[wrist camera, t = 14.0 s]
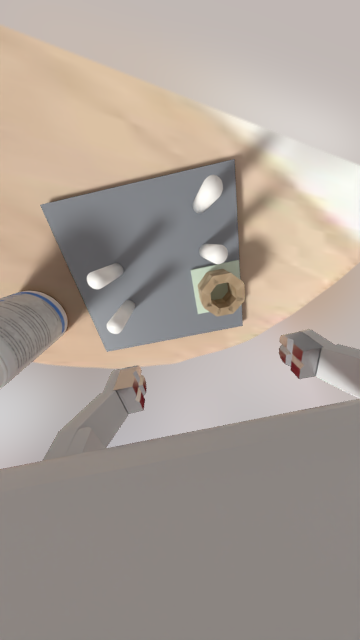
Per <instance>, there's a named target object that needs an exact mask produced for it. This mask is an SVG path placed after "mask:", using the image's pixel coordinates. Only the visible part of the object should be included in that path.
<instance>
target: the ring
mask: <svg viewBox="0 0 360 640" xmlns="http://www.w3.org/2000/svg"><path fill="white" fill-rule="evenodd" d="M227 282H228V292H227V293H226V294H225V296H224V297H223V298H222V299H217V300H213V299H211V294H210V293H211V292H212V291H213V289H214V288H215V287H216V285H217V284H222V283H227ZM198 291H199V298H200V301H201V303H202V305H203V307H204V308H205V309H206V310H208V311H209V312H211V313H212V314H214V315H215V316H217V317H218V316H223V315H228V314H233V313H234V312H235V311H236V310H237V309H238V308H239V306H240V305H241V304H242V303H243V302H244V301H245V286H244V282H242V281H241V280H240V279H238V278H237V277H236V276H234V275H233V274H232V273H230V272H228V271H226V270H224V269H219V270H214V271H209V272H207V273H206V274H205V275H204V277H203V278H202V280H201V281H200V282H199V284H198Z"/></svg>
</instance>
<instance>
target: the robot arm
mask: <svg viewBox="0 0 360 640" xmlns="http://www.w3.org/2000/svg"><path fill="white" fill-rule="evenodd" d="M280 343H281V344H282V345H281V346H280V348H279V355H280V358H281V359H282V361H283V362H284V363H285V364H286V365H288V366H291V371H292V372H293V373H294V374H295V375H296V376H297V377H298V378H299V379H302V378H308V377H314V376H316V377H317V378H319V379H321V380H323V381H325V382H327V383H329V384H331V385H333V386H335V387H337V388H339V389H341V390H343V391H345V392H347V393H349V394H351V395H353V396H355V397H357V398H359V399H356V400H351V401H345V402H340V403H335V404H330V405H325V406H320V407H315V408H309V409H305V410H299V411H295V412H289V413H284V414H279V415H274V416H269V417H264V418H259V419H254V420H249V421H243V422H239V423H233V424H228V425H223V426H218V427H213V428H208V429H202V430H197V431H192V432H187V433H182V434H178V435H172V436H167V437H162V438H157V439H151V440H147V441H141V442H137V443H132V444H126V445H121V446H116V447H111V448H106V447H107V446H108V444H109V443H110V441H111V440H112V438H113V437H114V435H115V434H116V433H117V431H118V430H119V428H120V427H121V425H122V423H123V422H124V421H125V419H126V418H127V416H128V414H131V413H135V412H139V411H143V410H144V403H145V399H144V395H145V394H146V381H145V378H144V376H142V375H141V371H142V370H141V368H140V366H133V367H127V368H122V369H117V370H113V371H112V372H111V374H110V377H109V379H108V381H107V384H106V386H105V389H104V391H103V393H101V394H99V395H98V396H97V397H96V398H95V399H94V400H93V401H91V402H90V403H89V404H88V405H87V406H86V407H85V408H84V409H83V410H82V411H81V412H80V413H78V414H77V415H76V416H75V417H74V418H73V419H72V420H71V421H70V422H69V423H68V424H67V425H66V426H64V427H63V428H62V429H61V430H60V431H59V432H58V434H57V435H56V437H55V439H54V441H53V443H52V445H51V446H50V448H49V450H48V452H47V453H46V455H45V457H44V459H43V461H40V462H35V463H30V464H25V465H20V466H14V467H10V468H4V469H0V640H360V350H359V349H355V348H351V347H347V346H343V345H339V344H337V345H335V344H333V343H332V342H330V341H328V340H327V339H325V338H324V337H322V336H321V335H319V334H317V333H316V332H314V331H313V330H310V329H307V330H303V331H299V332H295V333H290V334H286V335H281V337H280Z"/></svg>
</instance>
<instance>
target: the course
mask: <svg viewBox="0 0 360 640" xmlns="http://www.w3.org/2000/svg"><path fill="white" fill-rule="evenodd" d="M40 206H41V208H42V210H43V212H44V215H45V217H46V219H47V221H48V223H49V226H50V228H51V230H52V232H53V234H54V237H55V239H56V241H57V243H58V245H59V248H60V250H61V252H62V254H63V256H64V259H65V261H66V263H67V265H68V267H69V270H70V272H71V274H72V276H73V278H74V281H75V283H76V285H77V287H78V289H79V292H80V294H81V296H82V298H83V300H84V303H85V305H86V307H87V309H88V311H89V314H90V316H91V318H92V320H93V322H94V325H95V327H96V329H97V331H98V333H99V336H100V338H101V340H102V342H103V344H104V347H105V349H106V351H107V352H108V351H113V350H119V349H124V348H129V347H134V346H139V345H145V344H150V343H155V342H160V341H165V340H171V339H176V338H181V337H186V336H191V335H196V334H202V333H207V332H212V331H217V330H222V329H228V328H233V327H238V326H243V324H242V304H241V306H239V308H238V309H237V310H236V311H235V312H234V313H233V314H228V315H223V316H218V317H217V316H215V315H214V314H212V313H211V312H207V313H202V314H198V312H197V306H196V300H195V294H194V288H193V282H192V276H191V270H192V269H197V268H202V267H206V266H211V265H216V264H221V263H225V262H230V261H235V260H239V242H238V222H237V202H236V181H235V161H234V159H233V160H229V161H225V162H220V163H216V164H212V165H208V166H203V167H199V168H195V169H191V170H186V171H182V172H178V173H174V174H169V175H165V176H161V177H157V178H152V179H148V180H144V181H140V182H136V183H131V184H127V185H123V186H119V187H114V188H110V189H106V190H102V191H97V192H93V193H89V194H85V195H80V196H76V197H72V198H68V199H63V200H59V201H55V202H51V203H46V204H42V205H40ZM239 268H240V263H239Z"/></svg>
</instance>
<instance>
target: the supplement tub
mask: <svg viewBox="0 0 360 640" xmlns="http://www.w3.org/2000/svg"><path fill="white" fill-rule="evenodd" d="M67 324H68V320H67V315H66V313H65V311H64V309H63V308H62V306H61V305H60V304H59V303H58V302H57V301H56V300H55V299H53V298H52V297H50V296H48V295H46V294H44V293H41V292H37V291H22V292H18V293H16V294H12V295H9V296H7V297H4V298H1V299H0V389H1V388H2V387H3V386H5V385H6V384H7V383H8V382H9V381H11V380H12V379H13V378H14V377H15V376H16V375H18V374H19V373H20V372H21V371H22V370H23V369H24V368H26V367H27V366H28V365H29V364H30V363H31V362H33V361H34V360H35V359H36V358H37V357H38V356H39V355H41V354H42V353H43V352H44V351H45V350H46V349H47V348H49V347H50V346H51V345H52V344H53V343H54V342H55V341H57V340H58V339H59V338H60V337H61V336H62V335H63V334H64V333H65V331H66V329H67Z"/></svg>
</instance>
